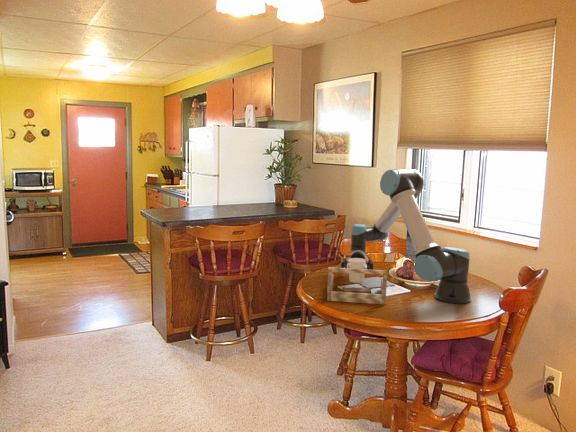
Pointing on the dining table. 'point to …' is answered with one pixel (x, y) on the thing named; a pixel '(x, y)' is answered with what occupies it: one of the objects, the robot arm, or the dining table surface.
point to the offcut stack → (357, 290)
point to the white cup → (357, 264)
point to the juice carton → (410, 248)
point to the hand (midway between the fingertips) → (356, 270)
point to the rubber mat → (374, 282)
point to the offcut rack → (356, 296)
